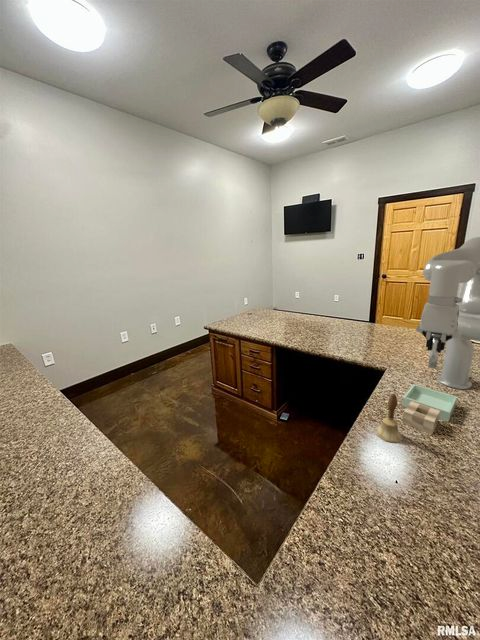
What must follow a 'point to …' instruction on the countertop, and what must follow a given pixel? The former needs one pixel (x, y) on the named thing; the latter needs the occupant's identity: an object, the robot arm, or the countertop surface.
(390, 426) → the hand bell
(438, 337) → the steel pin
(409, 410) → the hitch block
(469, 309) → the robot arm
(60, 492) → the countertop surface
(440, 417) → the tray
